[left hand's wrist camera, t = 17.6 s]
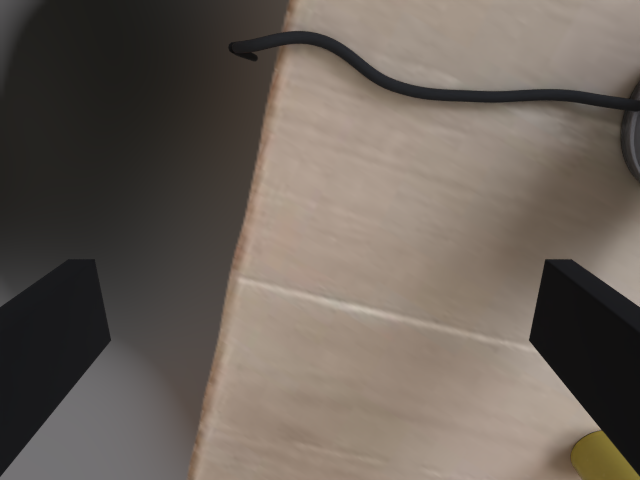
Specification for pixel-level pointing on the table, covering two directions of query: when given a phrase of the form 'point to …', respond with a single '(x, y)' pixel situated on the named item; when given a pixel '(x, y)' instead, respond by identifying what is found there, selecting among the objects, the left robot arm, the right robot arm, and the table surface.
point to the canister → (600, 459)
